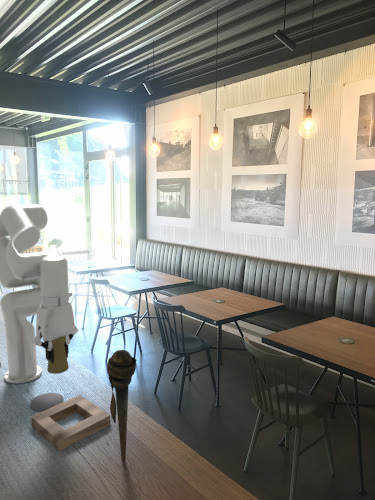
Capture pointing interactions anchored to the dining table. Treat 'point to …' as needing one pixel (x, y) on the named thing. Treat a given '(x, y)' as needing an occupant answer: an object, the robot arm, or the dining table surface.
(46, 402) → the coaster
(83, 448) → the dining table surface
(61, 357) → the cork
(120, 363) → the decorative torch
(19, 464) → the dining table surface
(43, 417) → the square frame
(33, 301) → the robot arm
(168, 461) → the dining table surface
